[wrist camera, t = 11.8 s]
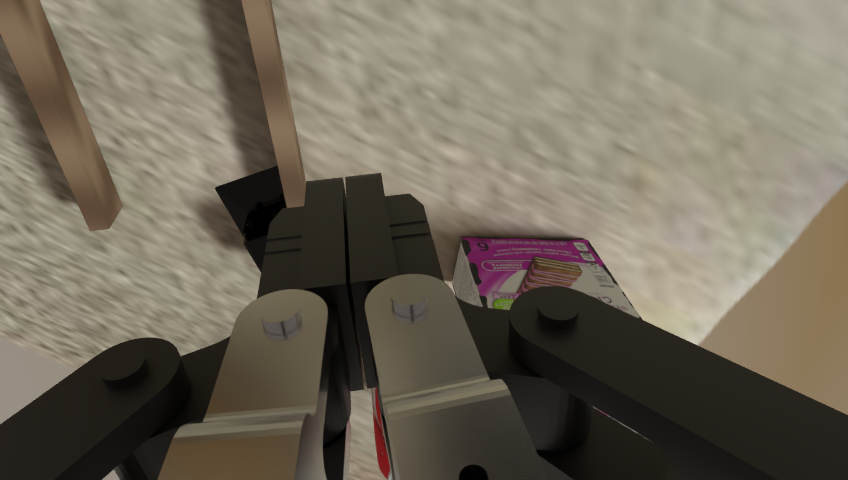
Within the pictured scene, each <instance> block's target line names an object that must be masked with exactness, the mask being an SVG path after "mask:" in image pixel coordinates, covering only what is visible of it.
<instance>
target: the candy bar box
mask: <svg viewBox="0 0 848 480" xmlns="http://www.w3.org/2000/svg"><path fill="white" fill-rule="evenodd" d="M452 284H453V288H454V291H455V295H456V297H458V298H459V299H461V300H463V301H465V302H467V303H470V304H472V305H476V306H480V307H486V308H495V309H505V310H510V307H511V305H512V303H513V301H514V300H515V299H516V298H517V297H518V296H519V295H521V294H522V293H524V292H526V291H528V290H530V289H534V288H537V287H543V286H561V287H568V288H571V289H575V290H578V291H580V292H583V293H585V294H587V295H589V296H592V297H594V298H596V299H598V300H600V301H602V302H605V303H607V304H609V305H611V306H613V307H615V308H617V309H620V310H622V311H624V312H626V313H628V314H630V315H633V316H635V317H637V318H639V319H641V320H642V318H641V317H640V315H639V314H638V312H637V311H636V310H635V309H634V307H633V306H632V304H631V303H630V301H629V300H628V298H627V297H626V295H625V294H624V292H623V291H622V289H621V288H620V286H619V285H618V284H617V282H616V281H615V279H614V278H613V276H612V275H611V273H610V272H609V270H608V269H607V268H606V266H605V264H604V263H603V262H602V260H601V259H600V257H599V256H598V254H597V253H596V251H595V250H594V248H593V247H592V245H591V244H590V242H589V241H588V240H563V239H515V238H473V237H461V239H460V244H459V250H458V258H457V262H456V267H455V271H454V276H453V281H452ZM597 410H598V409H597ZM599 411H600V410H599ZM602 413H603V412H602ZM604 414H605V413H604ZM607 416H608V415H607ZM609 417H610V416H609ZM614 420H615V419H614ZM619 423H620V422H619ZM621 424H622V423H621ZM624 426H625V425H624ZM626 427H627V426H626ZM629 429H630V428H629ZM631 430H632V429H631ZM634 432H635V431H634ZM636 433H637V432H636ZM641 436H642V435H641Z"/></svg>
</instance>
